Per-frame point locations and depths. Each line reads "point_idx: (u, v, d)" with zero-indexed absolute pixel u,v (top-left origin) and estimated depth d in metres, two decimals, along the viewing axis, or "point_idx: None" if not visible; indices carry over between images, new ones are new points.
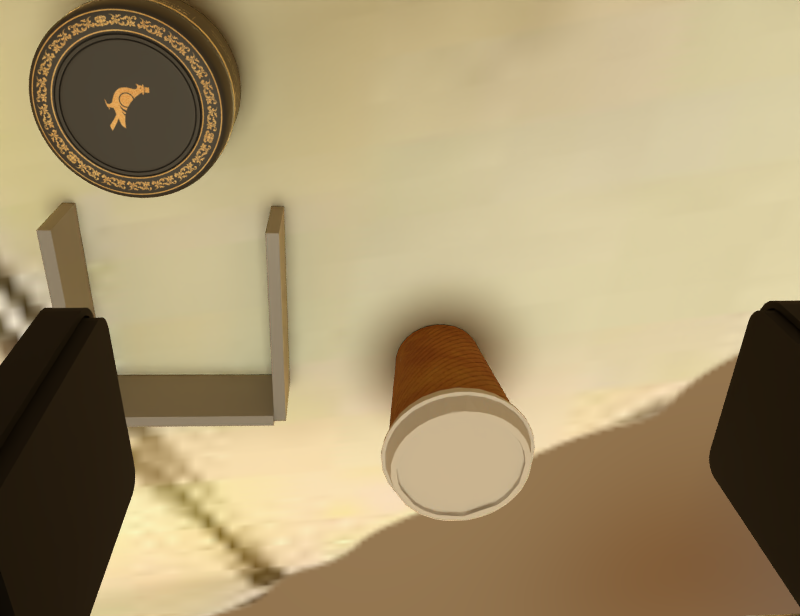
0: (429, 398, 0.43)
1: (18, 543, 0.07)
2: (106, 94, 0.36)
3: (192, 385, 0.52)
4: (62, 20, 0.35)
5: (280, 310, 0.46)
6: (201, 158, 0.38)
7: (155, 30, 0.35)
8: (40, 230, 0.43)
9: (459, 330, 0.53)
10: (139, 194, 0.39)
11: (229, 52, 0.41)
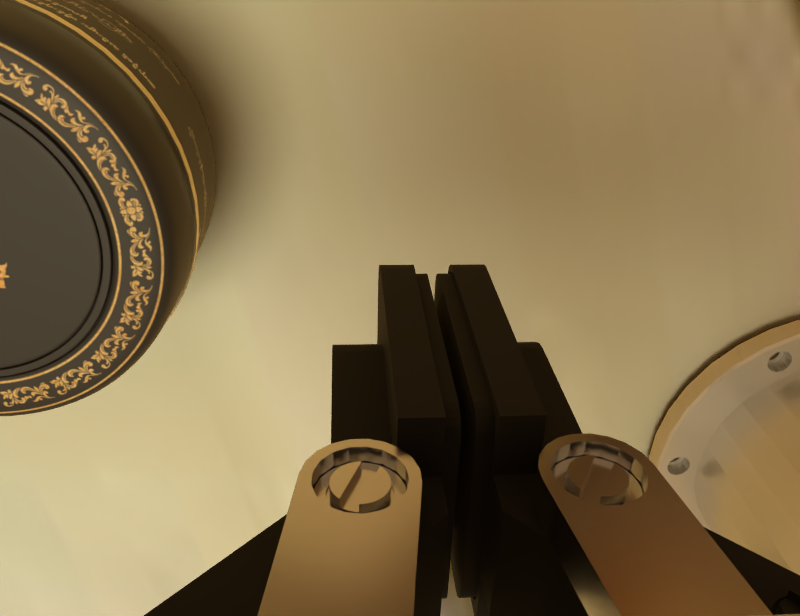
0: None
1: None
2: None
3: None
4: (117, 122, 0.15)
5: None
6: None
7: (131, 313, 0.17)
8: None
9: None
10: None
11: None
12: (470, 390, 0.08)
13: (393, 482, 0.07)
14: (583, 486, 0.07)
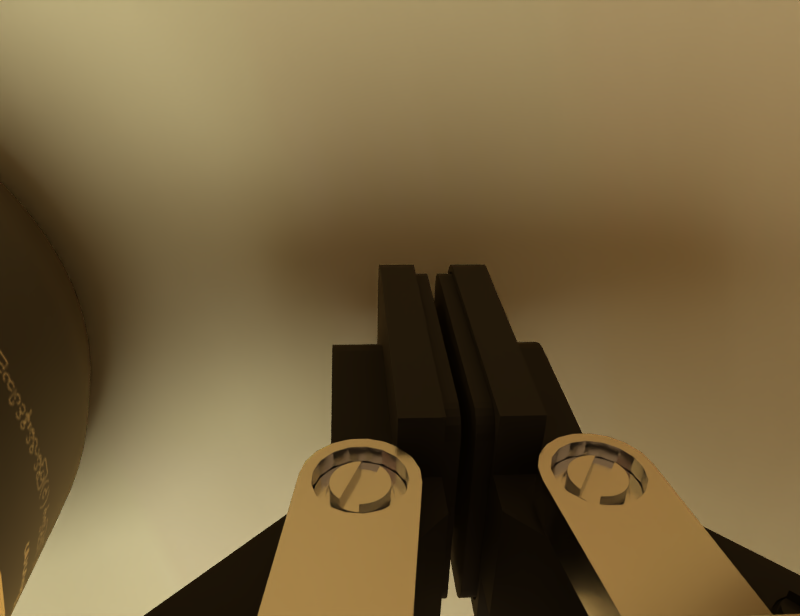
0: None
1: None
2: None
3: None
4: None
5: None
6: None
7: None
8: None
9: None
10: None
11: None
12: (470, 390, 0.08)
13: (393, 482, 0.07)
14: (583, 486, 0.07)
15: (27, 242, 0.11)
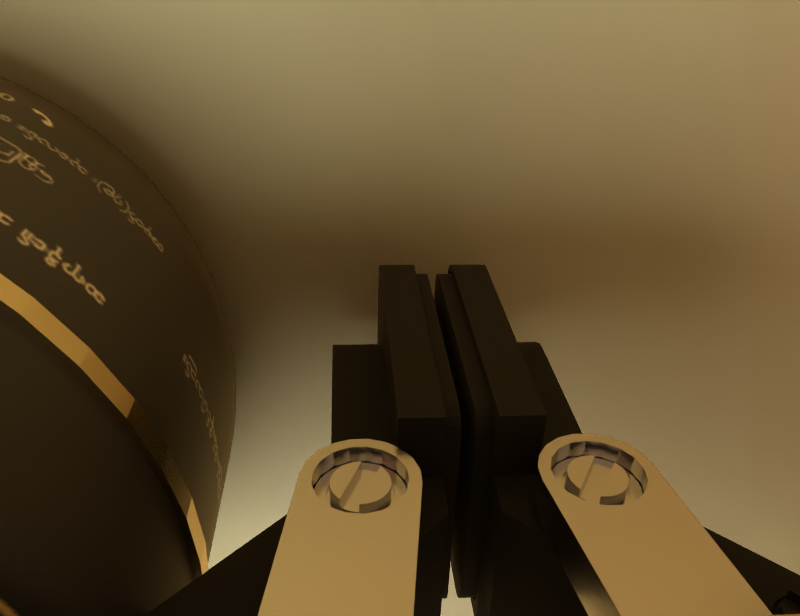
0: None
1: None
2: None
3: None
4: None
5: None
6: None
7: None
8: None
9: None
10: None
11: None
12: (470, 390, 0.08)
13: (393, 482, 0.07)
14: (583, 486, 0.07)
15: (188, 245, 0.10)
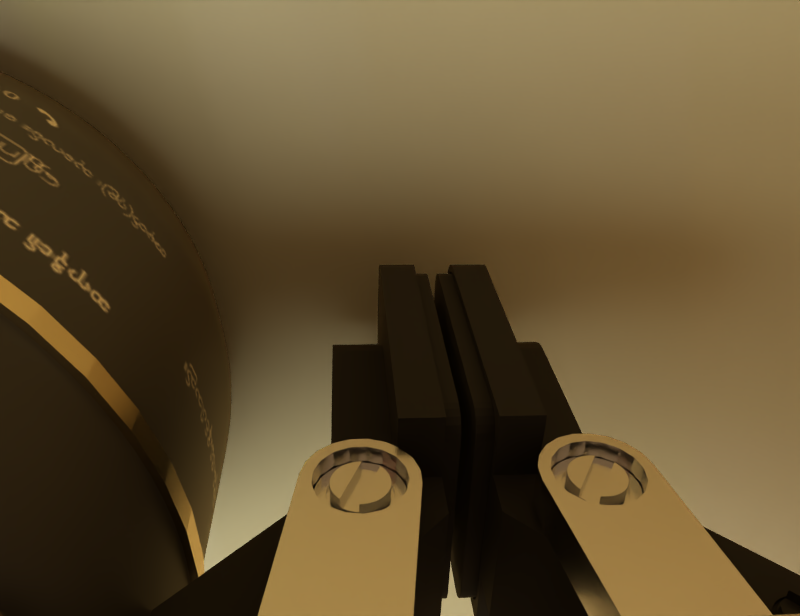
0: None
1: None
2: None
3: None
4: None
5: None
6: None
7: None
8: None
9: None
10: None
11: None
12: (470, 390, 0.08)
13: (393, 482, 0.07)
14: (583, 486, 0.07)
15: (189, 250, 0.10)
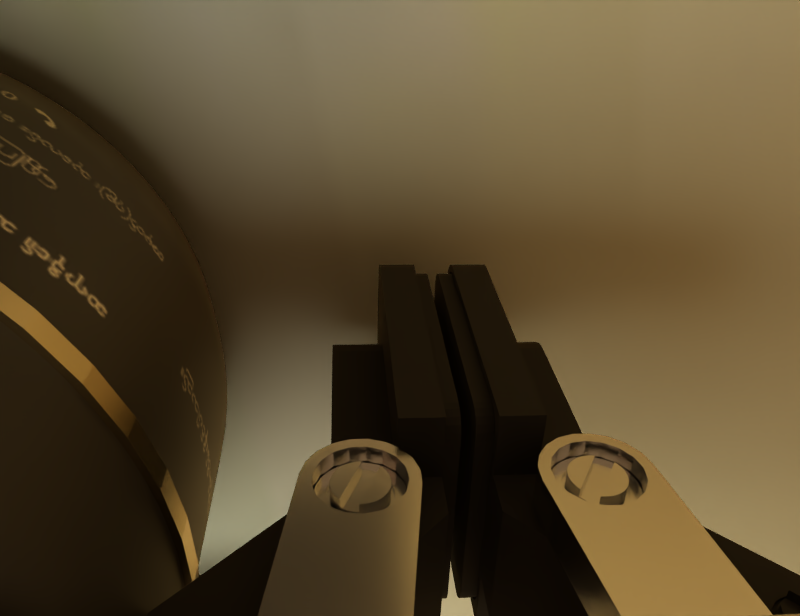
0: None
1: None
2: None
3: None
4: None
5: None
6: None
7: None
8: None
9: None
10: None
11: None
12: (470, 390, 0.08)
13: (393, 482, 0.07)
14: (583, 486, 0.07)
15: (187, 253, 0.10)
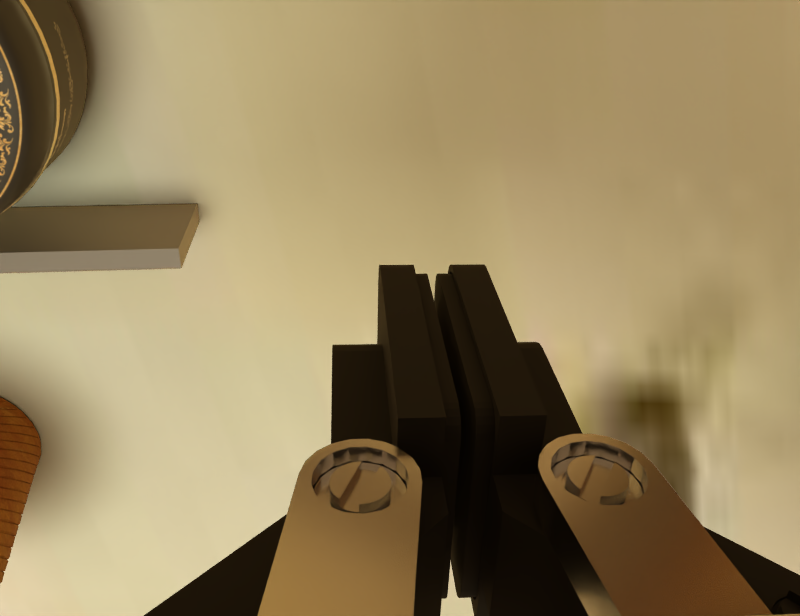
0: None
1: None
2: None
3: None
4: None
5: (31, 270, 0.26)
6: None
7: None
8: None
9: (37, 464, 0.36)
10: None
11: None
12: (470, 390, 0.08)
13: (393, 482, 0.07)
14: (583, 486, 0.07)
15: None
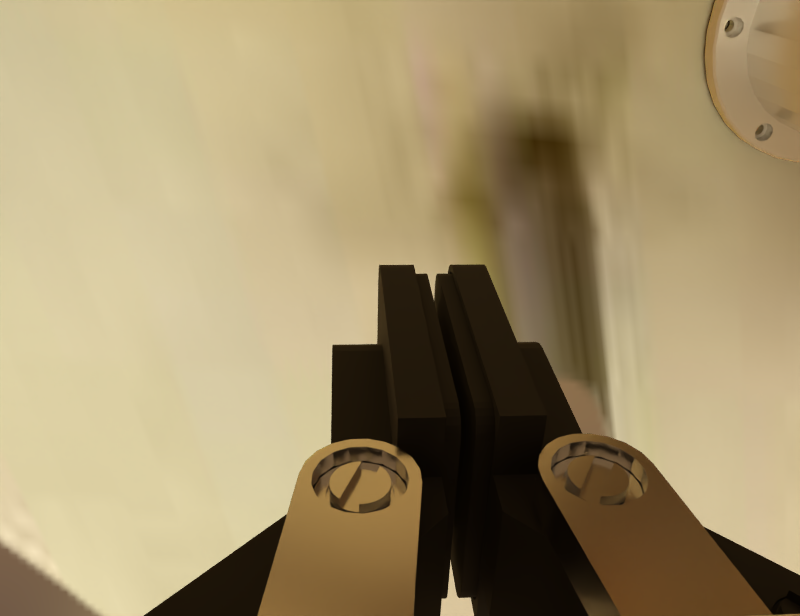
0: None
1: None
2: None
3: None
4: None
5: None
6: None
7: None
8: None
9: None
10: None
11: None
12: (470, 390, 0.08)
13: (393, 482, 0.07)
14: (583, 486, 0.07)
15: None
